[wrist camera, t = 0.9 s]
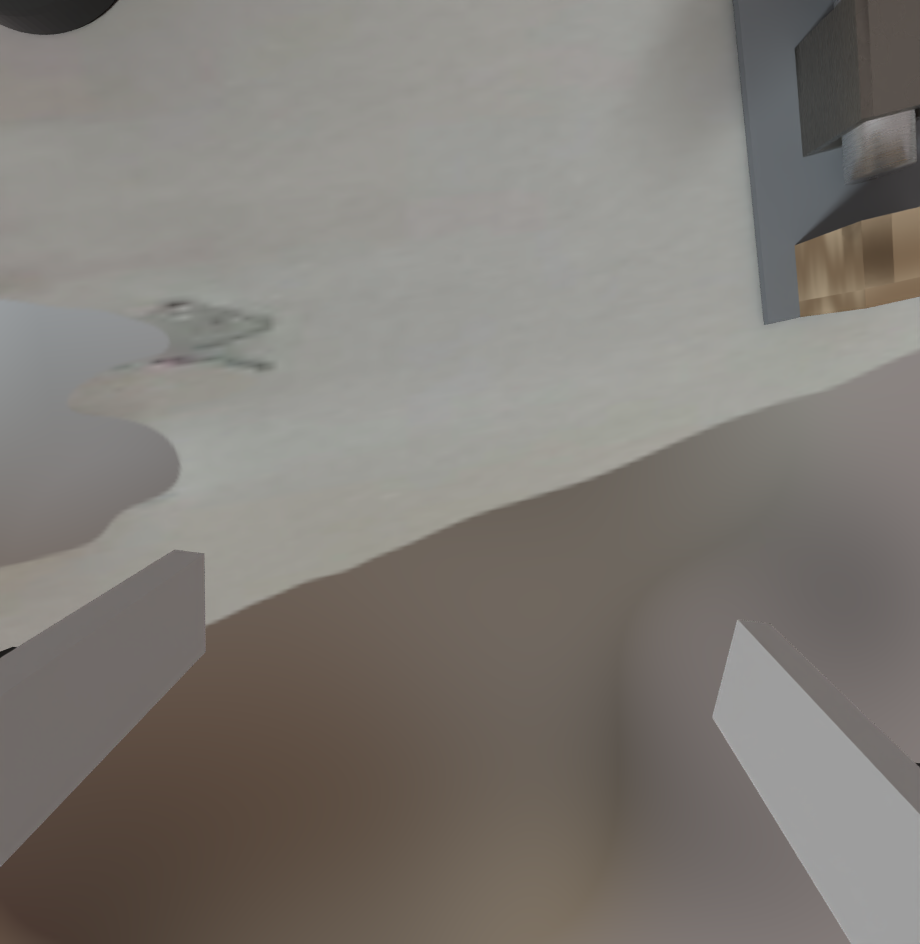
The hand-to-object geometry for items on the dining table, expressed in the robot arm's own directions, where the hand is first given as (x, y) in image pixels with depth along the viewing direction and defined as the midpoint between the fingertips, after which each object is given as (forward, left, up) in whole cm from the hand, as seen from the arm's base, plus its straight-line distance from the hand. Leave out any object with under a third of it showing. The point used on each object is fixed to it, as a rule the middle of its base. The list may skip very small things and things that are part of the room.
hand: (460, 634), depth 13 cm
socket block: (-7, +26, -25) cm, 37 cm away
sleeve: (-17, +26, -25) cm, 40 cm away
